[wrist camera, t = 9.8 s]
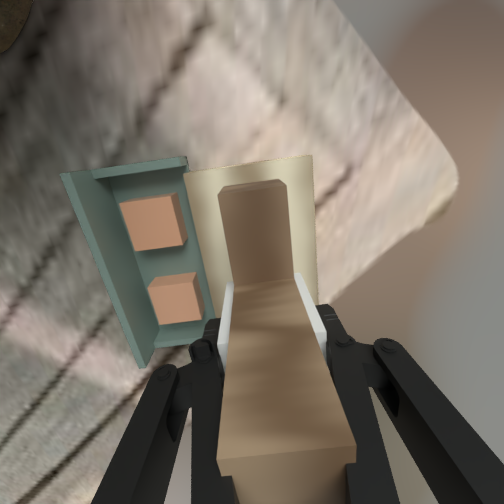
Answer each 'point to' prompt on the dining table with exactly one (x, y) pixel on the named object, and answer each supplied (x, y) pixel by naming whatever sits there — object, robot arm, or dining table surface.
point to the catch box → (138, 262)
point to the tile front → (154, 221)
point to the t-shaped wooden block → (275, 366)
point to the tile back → (177, 298)
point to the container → (12, 20)
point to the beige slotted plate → (211, 227)
